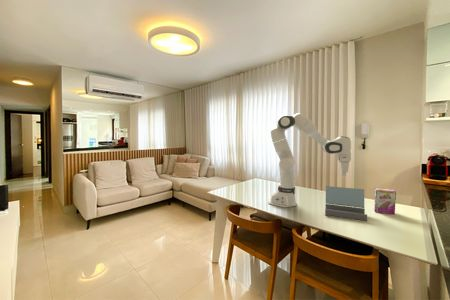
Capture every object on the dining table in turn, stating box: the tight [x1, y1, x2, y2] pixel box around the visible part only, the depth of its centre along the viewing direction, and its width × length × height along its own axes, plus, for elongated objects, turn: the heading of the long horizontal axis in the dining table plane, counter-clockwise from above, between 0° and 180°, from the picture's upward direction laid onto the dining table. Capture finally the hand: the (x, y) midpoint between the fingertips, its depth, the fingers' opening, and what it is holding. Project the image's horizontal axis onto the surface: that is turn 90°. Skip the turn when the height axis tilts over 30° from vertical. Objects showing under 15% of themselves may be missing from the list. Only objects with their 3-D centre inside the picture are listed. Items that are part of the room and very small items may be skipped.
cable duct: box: [324, 203, 368, 223], centre depth 139 cm, size 24×12×4 cm, turn 62°
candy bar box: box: [373, 187, 397, 215], centre depth 141 cm, size 11×5×16 cm, turn 59°
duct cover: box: [325, 185, 365, 209], centre depth 146 cm, size 24×13×1 cm
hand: (343, 175), depth 152 cm, fingers closed
